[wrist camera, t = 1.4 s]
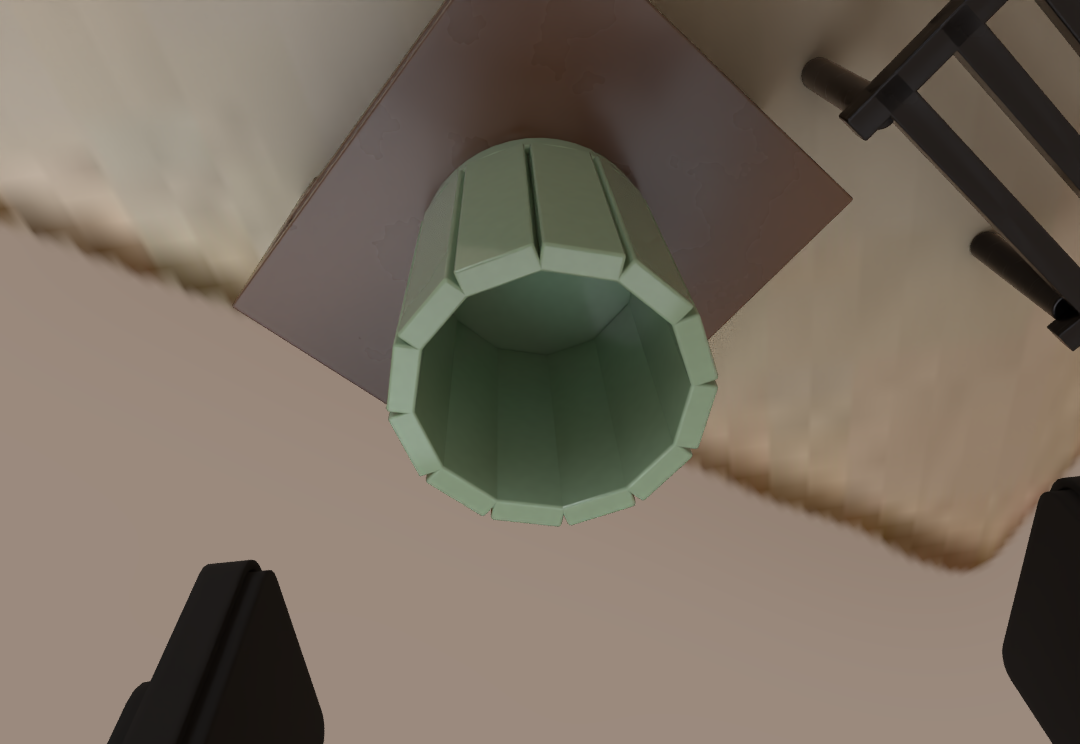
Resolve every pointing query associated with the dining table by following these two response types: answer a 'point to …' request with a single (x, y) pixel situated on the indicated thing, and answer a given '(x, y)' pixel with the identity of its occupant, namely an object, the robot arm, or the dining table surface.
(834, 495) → the dining table surface
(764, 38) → the dining table surface
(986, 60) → the rack
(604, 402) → the cup
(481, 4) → the shelf
